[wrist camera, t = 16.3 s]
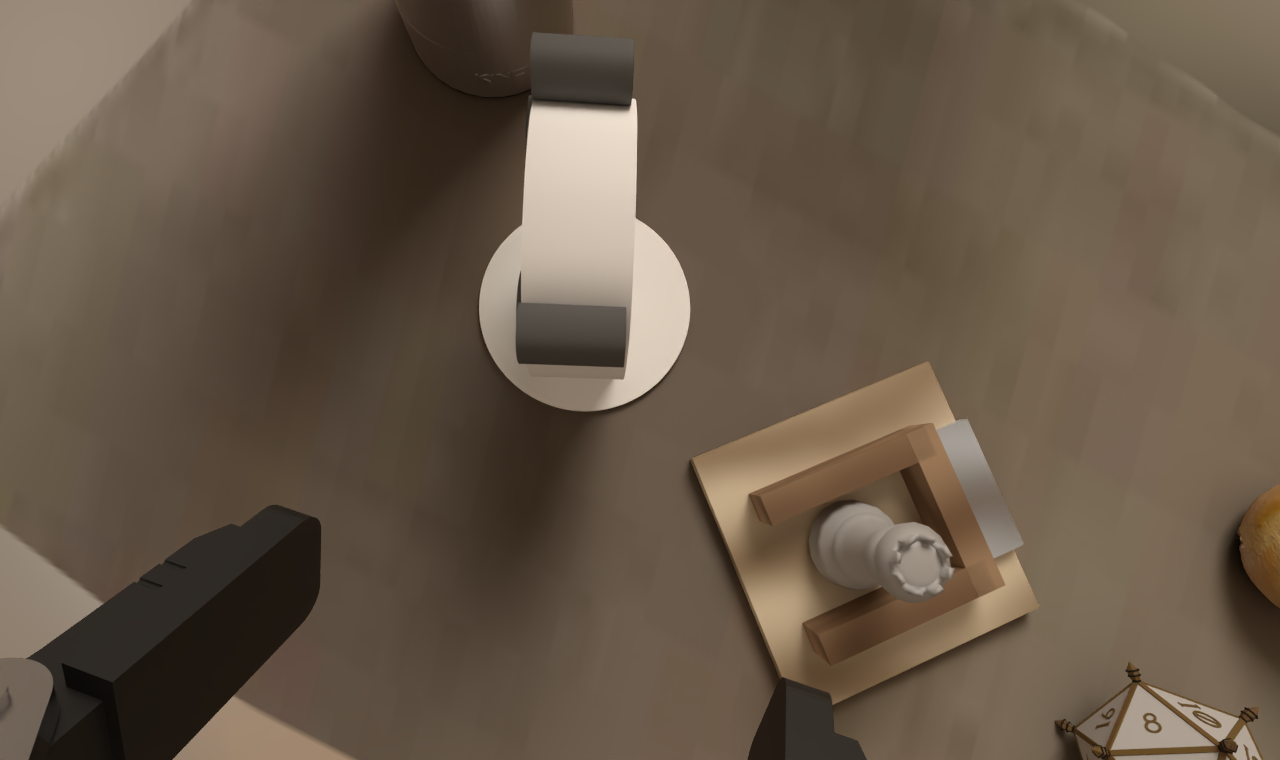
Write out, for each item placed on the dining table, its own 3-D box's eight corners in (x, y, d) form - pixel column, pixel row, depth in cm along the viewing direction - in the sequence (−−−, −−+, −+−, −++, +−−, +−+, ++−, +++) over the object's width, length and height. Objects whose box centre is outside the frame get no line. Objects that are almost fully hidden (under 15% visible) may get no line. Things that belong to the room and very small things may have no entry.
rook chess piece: (903, 523, 35) (995, 541, 27) (867, 602, 34) (951, 644, 26) (828, 483, 35) (897, 489, 27) (791, 561, 34) (851, 590, 26)
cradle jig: (689, 459, 35) (700, 458, 32) (922, 362, 37) (956, 352, 33) (793, 713, 34) (816, 741, 31) (1030, 601, 36) (1077, 616, 32)
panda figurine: (486, 190, 36) (414, 2, 22) (691, 201, 37) (756, 27, 22) (473, 408, 35) (386, 365, 20) (687, 414, 36) (755, 379, 21)
